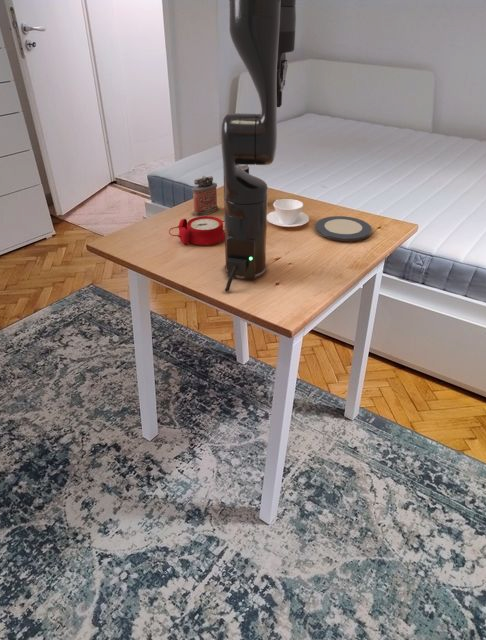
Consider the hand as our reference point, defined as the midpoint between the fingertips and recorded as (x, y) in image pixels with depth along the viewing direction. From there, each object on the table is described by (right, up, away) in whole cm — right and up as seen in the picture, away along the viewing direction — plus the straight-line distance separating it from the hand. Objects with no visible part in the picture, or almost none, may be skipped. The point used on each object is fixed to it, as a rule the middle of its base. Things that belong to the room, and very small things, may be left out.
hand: (277, 106), depth 129 cm
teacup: (+3, -30, +6) cm, 30 cm away
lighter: (-20, -25, +12) cm, 34 cm away
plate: (+18, -33, +1) cm, 38 cm away
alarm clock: (-20, -36, -3) cm, 41 cm away
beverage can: (-10, -21, +17) cm, 29 cm away
